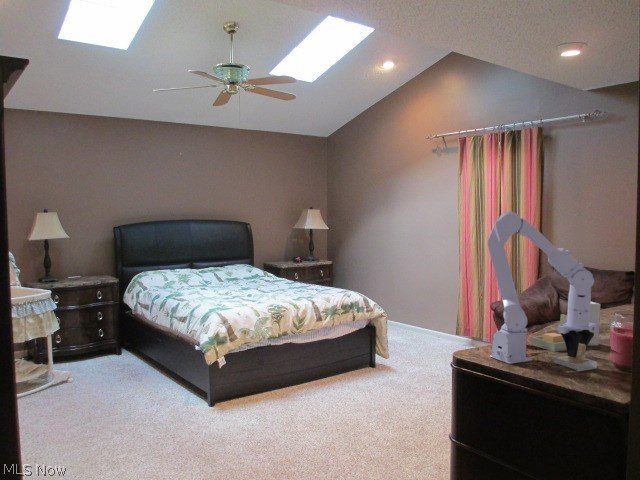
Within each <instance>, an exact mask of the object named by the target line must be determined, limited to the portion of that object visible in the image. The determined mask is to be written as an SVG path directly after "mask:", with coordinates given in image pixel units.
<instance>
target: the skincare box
mask: <svg viewBox="0 0 640 480" xmlns="http://www.w3.org/2000/svg"><path fill="white" fill-rule="evenodd" d="M600 317H601V303H599V302H593V301H591V303H590V318H589V323H595V324H597V330H589V332H593V333H594V336H593V337H592V339H591V340H590V342H589V344H588V346H599V339H600V338H599V335H600Z"/></svg>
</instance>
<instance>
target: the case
mask: <svg viewBox="0 0 640 480" xmlns="http://www.w3.org/2000/svg"><path fill="white" fill-rule="evenodd" d="M559 319H560V320H559V325H563V324H565V323H567V314H562V313H561V314H560V318H559ZM558 334H560V335H561V333H559V332H558ZM530 345H531V346H533V347H538V348H540V349H544V350H548V351H551V352H554V353H555V352H563V351H567V348H566V344H565V341H564V339H563V342H558V343H552V342H549V341H545V340H543V335H539V336H531V337H530Z"/></svg>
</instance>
